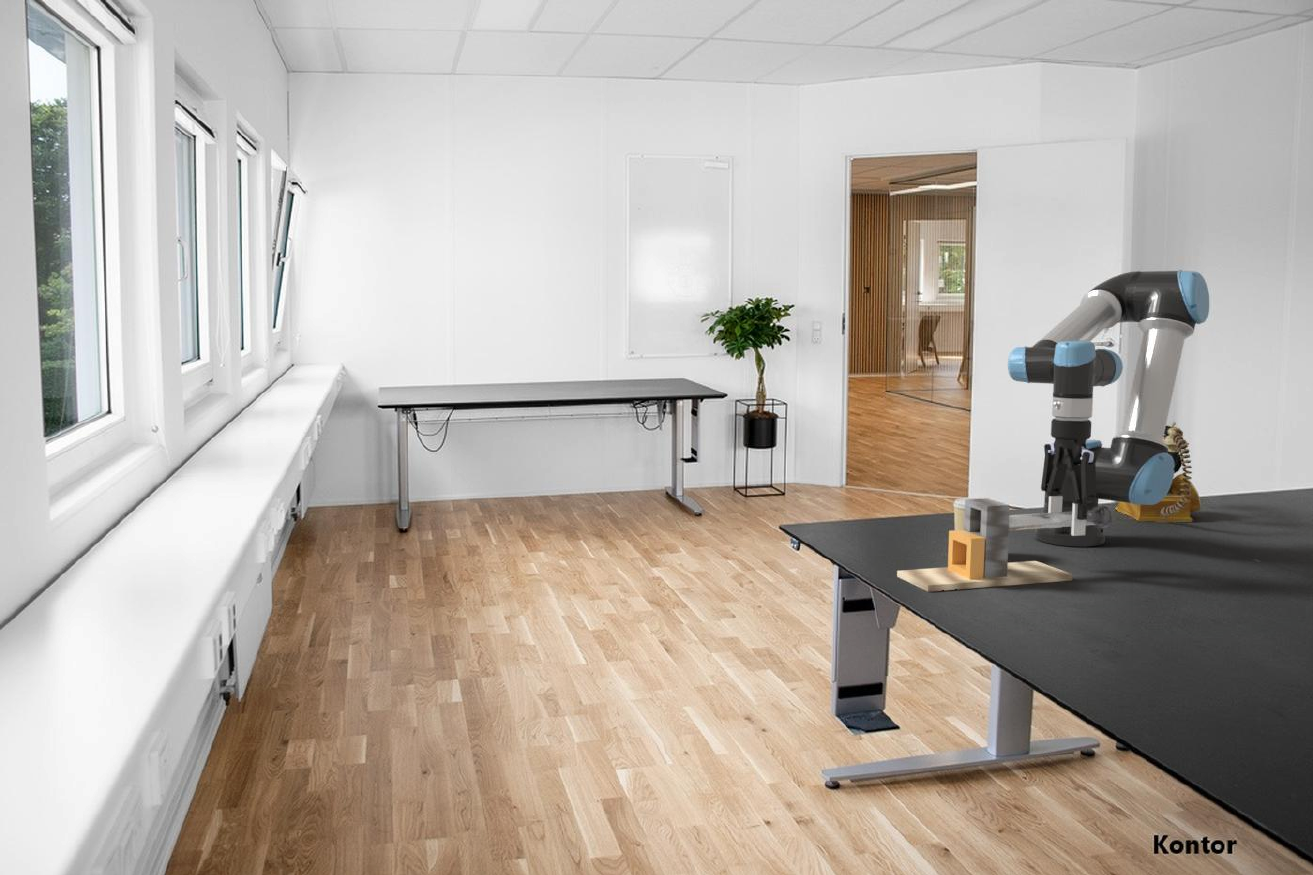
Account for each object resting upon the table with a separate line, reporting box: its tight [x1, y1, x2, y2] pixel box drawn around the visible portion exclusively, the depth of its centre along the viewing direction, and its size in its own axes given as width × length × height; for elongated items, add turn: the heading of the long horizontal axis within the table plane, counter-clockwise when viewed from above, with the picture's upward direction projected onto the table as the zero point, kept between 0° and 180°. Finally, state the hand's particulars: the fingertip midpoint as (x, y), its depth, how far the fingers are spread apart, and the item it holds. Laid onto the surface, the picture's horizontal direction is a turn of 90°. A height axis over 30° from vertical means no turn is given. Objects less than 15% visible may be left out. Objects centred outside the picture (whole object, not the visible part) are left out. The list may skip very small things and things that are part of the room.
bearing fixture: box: [896, 497, 1073, 593], centre depth 220 cm, size 32×12×15 cm, turn 106°
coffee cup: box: [953, 497, 982, 530], centre depth 240 cm, size 9×9×12 cm
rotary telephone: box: [1115, 421, 1202, 521], centre depth 279 cm, size 35×18×25 cm, turn 178°
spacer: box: [947, 529, 985, 579], centre depth 219 cm, size 3×8×8 cm, turn 16°
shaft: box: [1009, 505, 1113, 531], centre depth 223 cm, size 28×4×4 cm, turn 106°
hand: (1066, 531), depth 225 cm, fingers open, 7 cm apart
